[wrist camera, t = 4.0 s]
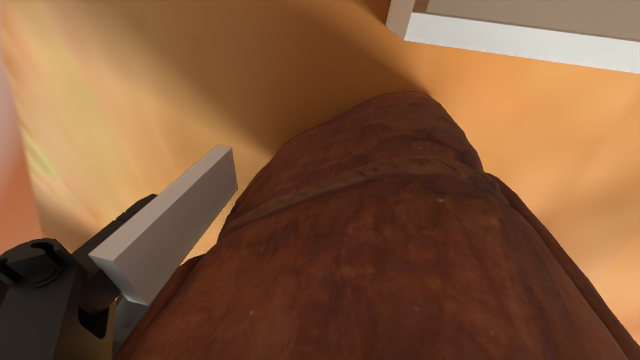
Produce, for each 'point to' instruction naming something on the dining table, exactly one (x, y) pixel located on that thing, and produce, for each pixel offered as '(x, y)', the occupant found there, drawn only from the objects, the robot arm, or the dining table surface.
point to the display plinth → (528, 28)
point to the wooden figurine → (380, 259)
